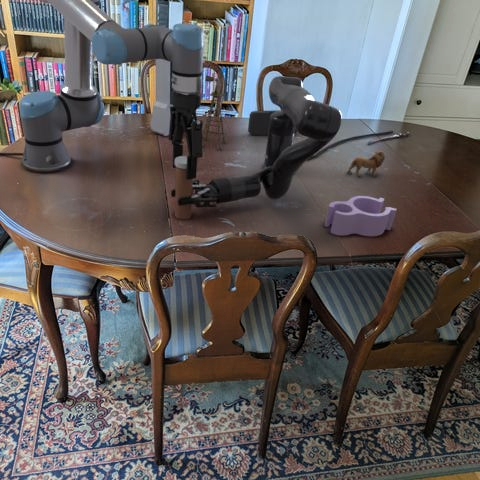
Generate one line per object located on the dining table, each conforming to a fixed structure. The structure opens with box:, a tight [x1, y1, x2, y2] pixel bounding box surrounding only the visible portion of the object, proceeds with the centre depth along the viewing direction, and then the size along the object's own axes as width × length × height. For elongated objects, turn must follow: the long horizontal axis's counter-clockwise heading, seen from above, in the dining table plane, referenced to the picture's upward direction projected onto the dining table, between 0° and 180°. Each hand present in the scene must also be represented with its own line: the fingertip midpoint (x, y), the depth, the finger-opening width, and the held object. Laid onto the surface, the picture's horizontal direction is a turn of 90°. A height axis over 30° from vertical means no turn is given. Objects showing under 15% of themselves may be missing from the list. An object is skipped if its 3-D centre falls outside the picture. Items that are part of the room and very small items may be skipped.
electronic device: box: [149, 59, 173, 137], centre depth 188 cm, size 12×8×30 cm, turn 148°
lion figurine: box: [346, 150, 386, 178], centre depth 174 cm, size 15×5×9 cm, turn 110°
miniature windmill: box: [202, 67, 226, 150], centre depth 180 cm, size 9×8×30 cm
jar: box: [174, 167, 194, 220], centre depth 134 cm, size 5×5×17 cm
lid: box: [175, 155, 187, 169], centre depth 130 cm, size 6×6×2 cm
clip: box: [324, 195, 398, 237], centre depth 141 cm, size 20×12×7 cm, turn 109°
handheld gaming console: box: [247, 110, 298, 136], centre depth 202 cm, size 23×3×10 cm, turn 108°
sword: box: [367, 133, 409, 145], centre depth 213 cm, size 31×3×1 cm, turn 126°
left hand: (184, 172), depth 132 cm, fingers open, 7 cm apart
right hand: (175, 197), depth 135 cm, fingers closed on jar, 5 cm apart
